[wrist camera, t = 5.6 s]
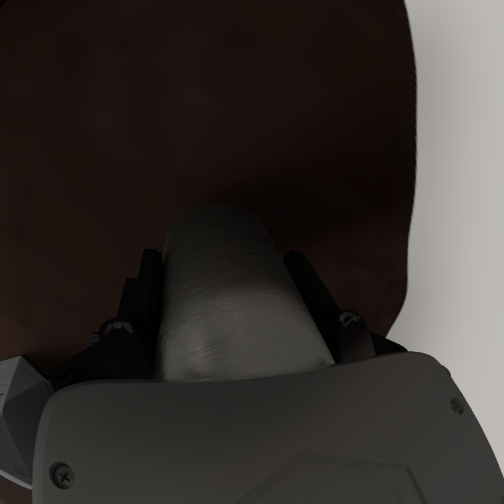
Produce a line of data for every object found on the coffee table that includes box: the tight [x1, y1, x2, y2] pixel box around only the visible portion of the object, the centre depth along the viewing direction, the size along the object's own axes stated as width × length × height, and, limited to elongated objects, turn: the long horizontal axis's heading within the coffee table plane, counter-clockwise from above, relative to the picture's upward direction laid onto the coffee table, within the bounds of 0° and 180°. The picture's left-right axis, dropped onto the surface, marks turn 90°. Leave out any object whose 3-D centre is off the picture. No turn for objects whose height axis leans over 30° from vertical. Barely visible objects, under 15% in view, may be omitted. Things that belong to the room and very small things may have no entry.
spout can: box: [155, 201, 336, 379], centre depth 11 cm, size 8×6×10 cm
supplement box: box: [0, 356, 47, 489], centre depth 15 cm, size 7×7×13 cm
